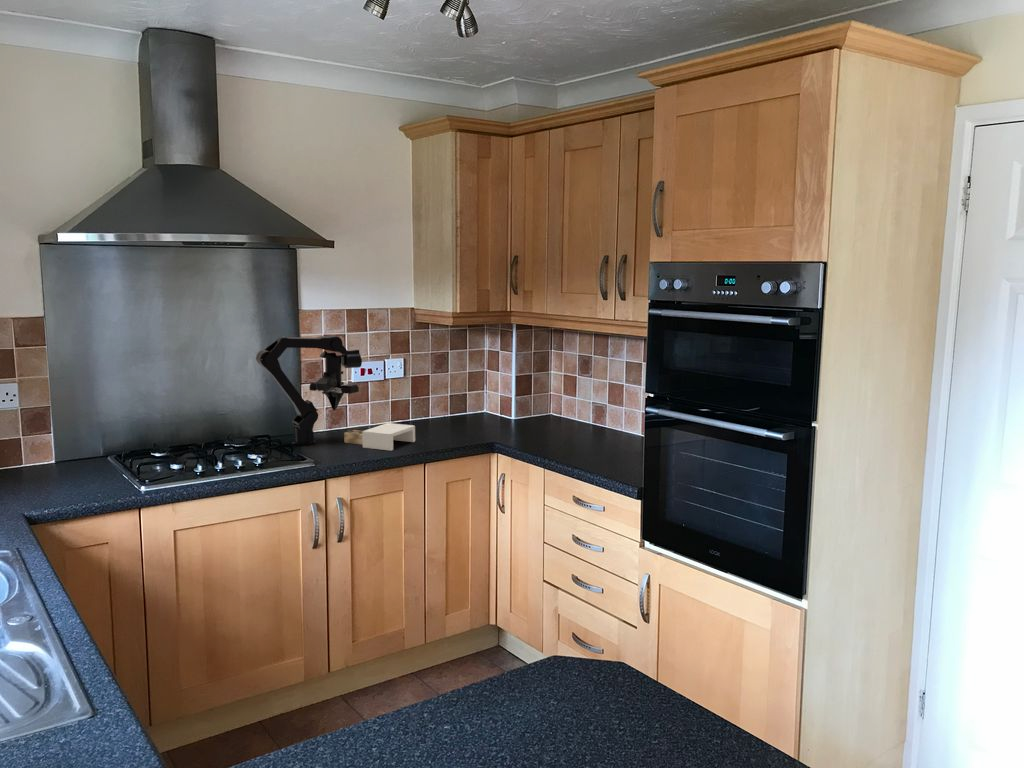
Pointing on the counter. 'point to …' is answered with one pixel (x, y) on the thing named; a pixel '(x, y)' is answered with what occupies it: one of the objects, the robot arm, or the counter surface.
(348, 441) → the brown wooden box
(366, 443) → the shelf
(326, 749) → the counter surface
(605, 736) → the counter surface
